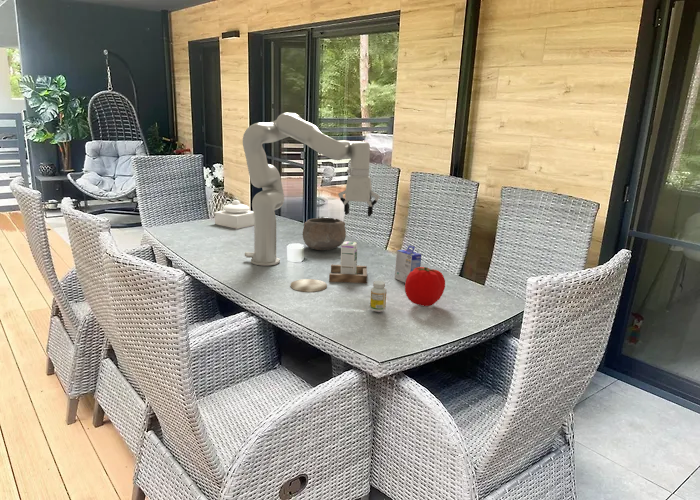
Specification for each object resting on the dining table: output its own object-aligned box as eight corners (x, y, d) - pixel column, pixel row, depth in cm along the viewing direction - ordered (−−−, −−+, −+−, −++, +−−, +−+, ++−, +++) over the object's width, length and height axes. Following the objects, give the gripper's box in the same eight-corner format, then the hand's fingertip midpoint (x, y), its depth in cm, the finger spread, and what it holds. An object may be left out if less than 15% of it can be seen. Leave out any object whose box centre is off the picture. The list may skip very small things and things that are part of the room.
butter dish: (259, 227, 308) (258, 199, 304) (236, 231, 294) (236, 203, 290) (237, 222, 317) (236, 196, 314) (214, 227, 303) (213, 199, 299)
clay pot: (295, 251, 256) (295, 220, 252) (313, 242, 275) (314, 214, 271) (335, 257, 249) (336, 225, 245) (351, 247, 267) (352, 218, 264)
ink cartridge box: (420, 283, 214) (422, 248, 211) (409, 285, 211) (412, 250, 208) (404, 276, 222) (406, 243, 219) (394, 278, 219) (396, 244, 216)
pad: (288, 291, 199) (288, 289, 199) (292, 279, 212) (292, 278, 212) (325, 292, 199) (325, 291, 199) (327, 281, 212) (327, 279, 212)
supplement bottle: (379, 313, 180) (380, 286, 178) (366, 309, 184) (368, 282, 181) (388, 309, 184) (390, 282, 182) (376, 305, 188) (377, 279, 185)
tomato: (415, 312, 182) (417, 274, 179) (395, 299, 195) (398, 263, 191) (453, 307, 189) (456, 270, 185) (432, 295, 201) (435, 260, 197)
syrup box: (354, 279, 216) (355, 245, 212) (339, 278, 217) (341, 243, 213) (356, 275, 221) (358, 241, 218) (342, 274, 222) (343, 240, 219)
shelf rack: (329, 281, 212) (329, 274, 211) (331, 271, 226) (331, 264, 225) (366, 283, 212) (367, 275, 211) (366, 272, 226) (366, 265, 225)
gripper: (336, 172, 213) (335, 214, 217) (377, 175, 208) (376, 218, 212) (342, 170, 220) (341, 211, 224) (382, 173, 215) (380, 215, 219)
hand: (358, 214), depth 218 cm, fingers open, 9 cm apart
